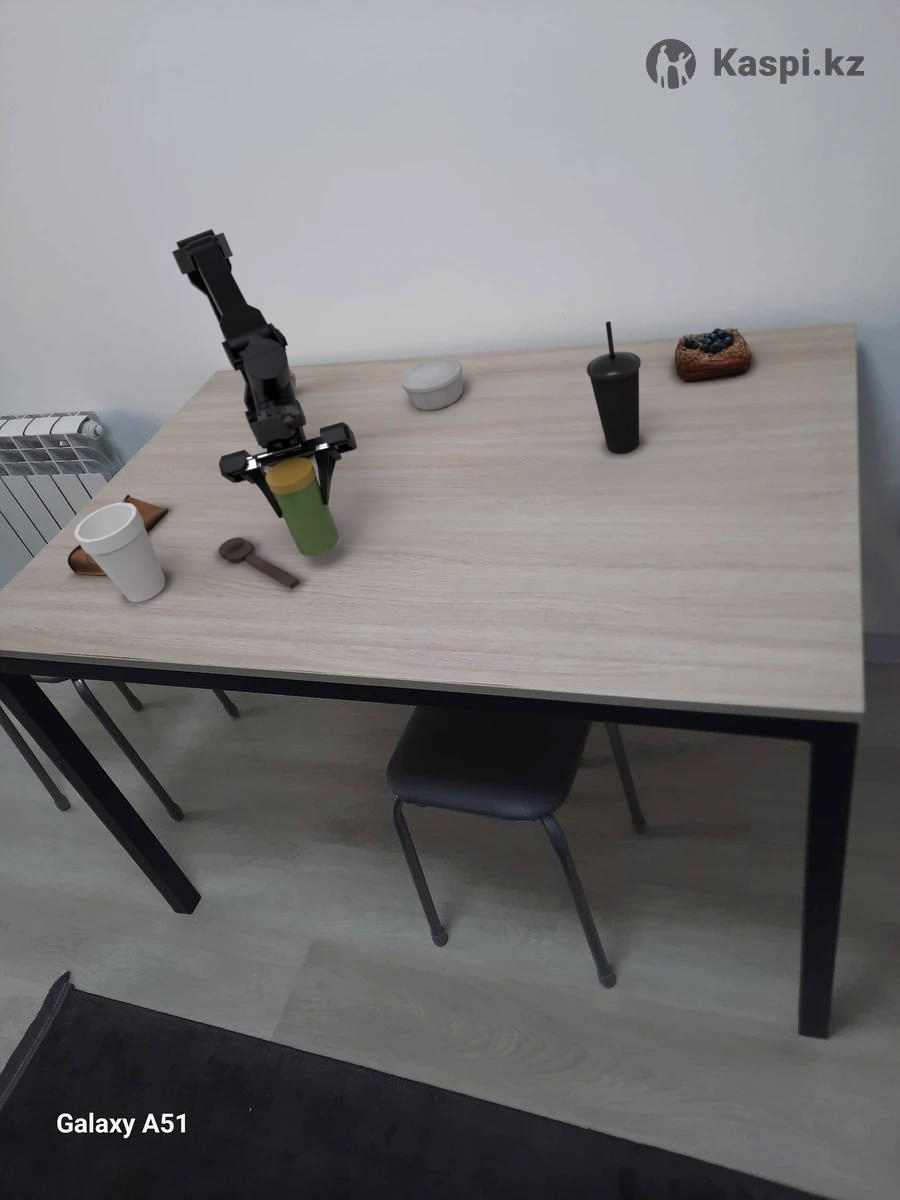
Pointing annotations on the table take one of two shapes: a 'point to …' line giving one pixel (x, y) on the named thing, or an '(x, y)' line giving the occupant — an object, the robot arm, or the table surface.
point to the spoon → (254, 560)
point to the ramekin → (433, 383)
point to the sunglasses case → (87, 565)
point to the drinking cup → (617, 396)
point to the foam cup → (122, 550)
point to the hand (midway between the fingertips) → (303, 511)
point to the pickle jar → (303, 506)
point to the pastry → (712, 356)
